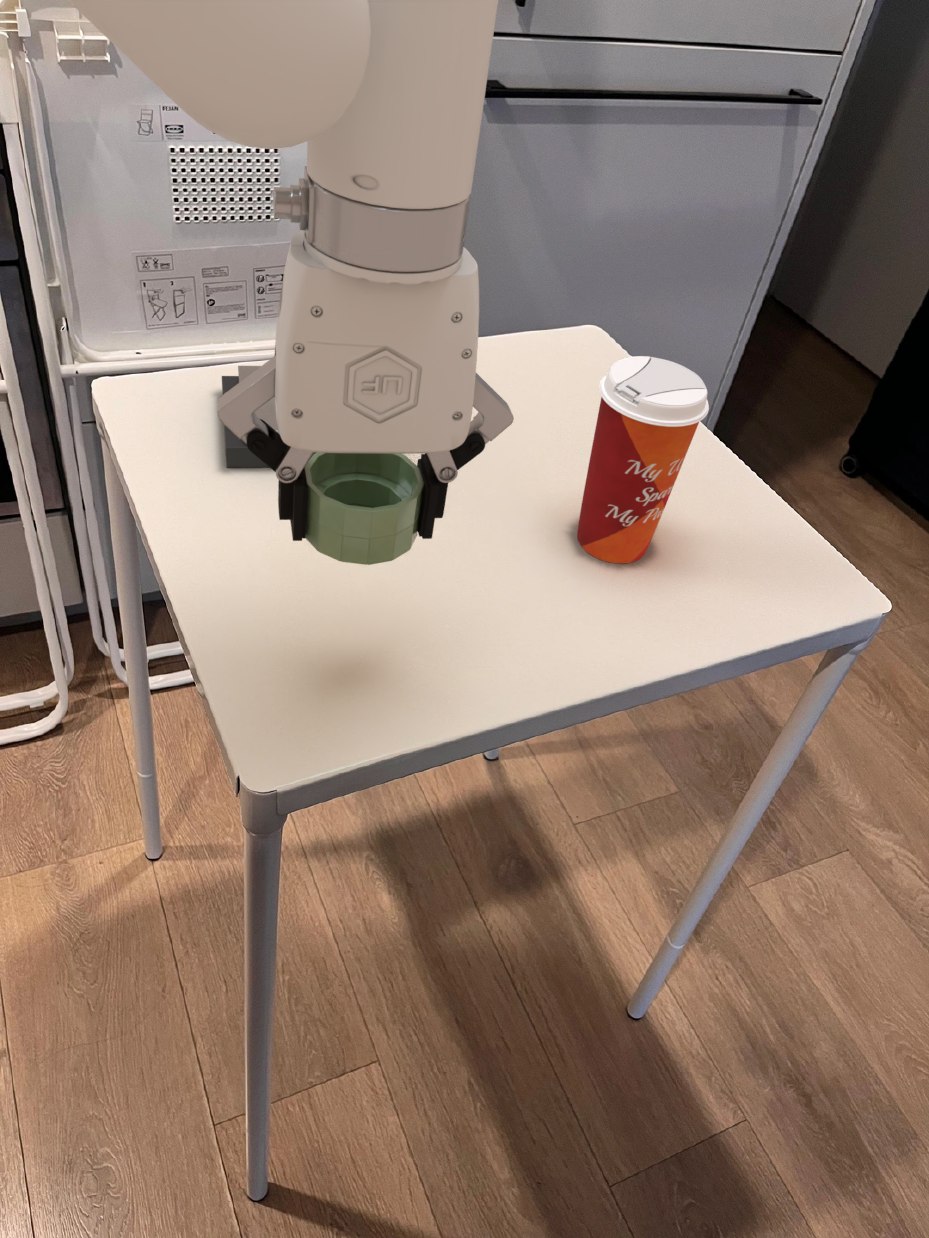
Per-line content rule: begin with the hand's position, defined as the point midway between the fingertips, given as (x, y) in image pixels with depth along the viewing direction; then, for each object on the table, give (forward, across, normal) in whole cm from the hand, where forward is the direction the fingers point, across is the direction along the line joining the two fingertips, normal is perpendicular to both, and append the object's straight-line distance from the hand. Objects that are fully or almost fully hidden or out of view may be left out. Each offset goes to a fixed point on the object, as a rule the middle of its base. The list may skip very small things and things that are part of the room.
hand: (360, 523), depth 56 cm
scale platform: (+10, 0, +31) cm, 32 cm away
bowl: (+1, 0, 0) cm, 1 cm away
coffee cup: (+12, +24, +13) cm, 30 cm away
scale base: (+13, 0, +31) cm, 33 cm away
